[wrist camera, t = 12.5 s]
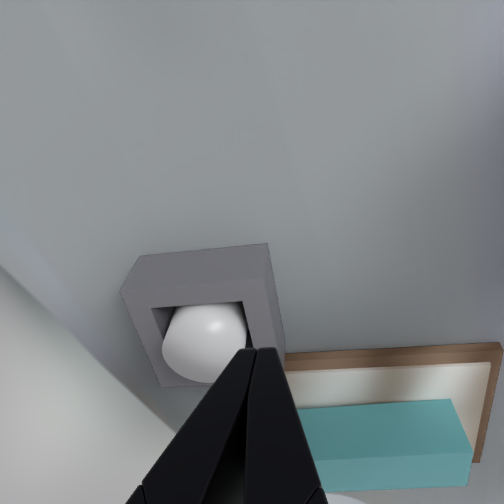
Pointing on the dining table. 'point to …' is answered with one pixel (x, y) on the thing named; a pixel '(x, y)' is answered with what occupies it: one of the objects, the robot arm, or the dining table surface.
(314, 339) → the dining table surface
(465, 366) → the wooden picture frame
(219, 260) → the button base
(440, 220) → the dining table surface
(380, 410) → the teal and white bar
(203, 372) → the button
